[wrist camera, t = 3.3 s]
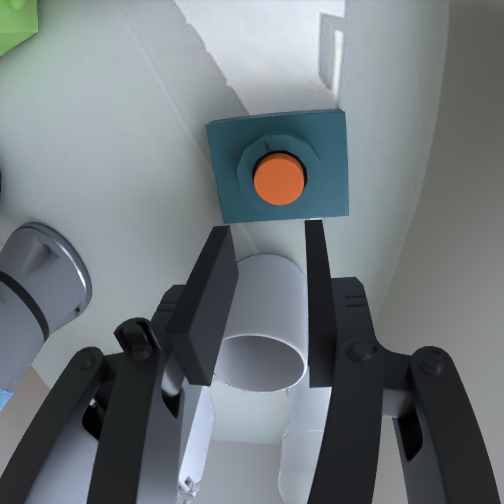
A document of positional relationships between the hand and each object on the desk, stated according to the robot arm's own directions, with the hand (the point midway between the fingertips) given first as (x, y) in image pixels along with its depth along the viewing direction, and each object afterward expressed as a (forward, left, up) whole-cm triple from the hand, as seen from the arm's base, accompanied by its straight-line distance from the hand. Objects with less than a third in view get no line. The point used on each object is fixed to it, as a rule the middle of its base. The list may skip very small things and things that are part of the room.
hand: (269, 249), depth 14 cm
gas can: (-17, -38, -15) cm, 44 cm away
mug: (-3, -15, -15) cm, 21 cm away
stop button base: (0, 0, -15) cm, 15 cm away
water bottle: (+2, -28, -15) cm, 32 cm away
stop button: (0, 0, -11) cm, 11 cm away
